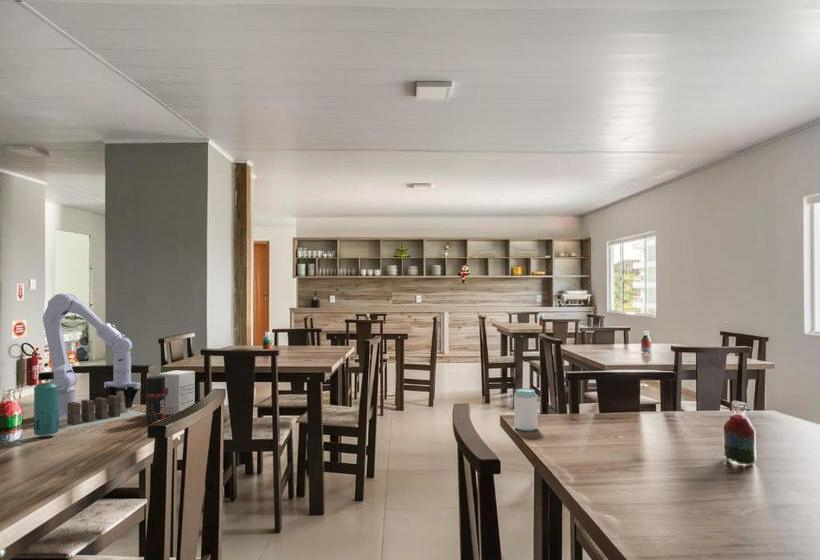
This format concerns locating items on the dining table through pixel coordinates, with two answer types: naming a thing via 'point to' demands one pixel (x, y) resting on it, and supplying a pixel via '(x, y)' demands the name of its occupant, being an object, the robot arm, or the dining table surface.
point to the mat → (98, 421)
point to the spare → (122, 402)
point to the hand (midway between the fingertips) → (122, 407)
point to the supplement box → (178, 390)
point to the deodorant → (155, 398)
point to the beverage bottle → (46, 406)
